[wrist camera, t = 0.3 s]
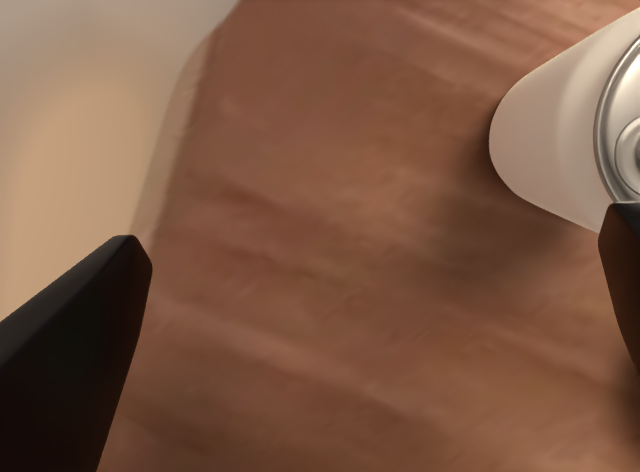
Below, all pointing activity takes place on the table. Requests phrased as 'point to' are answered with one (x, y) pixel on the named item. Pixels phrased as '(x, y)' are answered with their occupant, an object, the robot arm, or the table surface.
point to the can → (575, 127)
